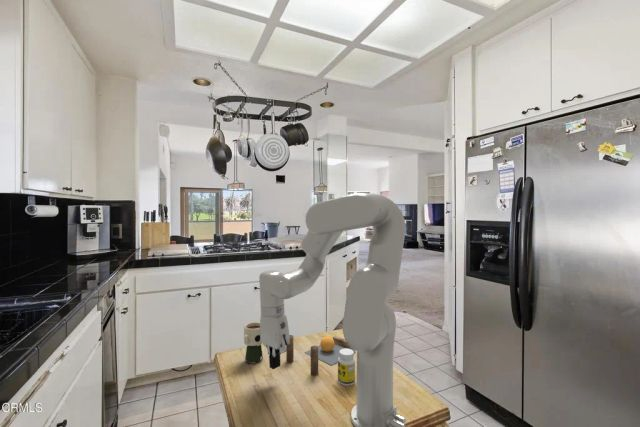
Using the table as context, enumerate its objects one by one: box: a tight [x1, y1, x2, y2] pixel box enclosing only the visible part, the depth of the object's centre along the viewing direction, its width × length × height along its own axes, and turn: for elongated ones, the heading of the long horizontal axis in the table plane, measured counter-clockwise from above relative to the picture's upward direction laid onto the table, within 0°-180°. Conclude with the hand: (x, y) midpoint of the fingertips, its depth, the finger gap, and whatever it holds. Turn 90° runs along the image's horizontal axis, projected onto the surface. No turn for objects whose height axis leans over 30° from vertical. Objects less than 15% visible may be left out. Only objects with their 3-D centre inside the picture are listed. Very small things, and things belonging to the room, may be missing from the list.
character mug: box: [243, 321, 264, 364], centre depth 116 cm, size 11×7×13 cm, turn 157°
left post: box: [285, 334, 295, 363], centre depth 116 cm, size 3×3×9 cm
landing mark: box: [304, 344, 357, 367], centre depth 122 cm, size 14×14×1 cm
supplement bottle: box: [337, 348, 356, 386], centre depth 103 cm, size 6×6×10 cm
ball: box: [319, 336, 335, 352], centre depth 124 cm, size 6×6×6 cm
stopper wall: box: [332, 335, 355, 351], centre depth 128 cm, size 10×2×2 cm, turn 46°
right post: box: [310, 345, 319, 377], centre depth 107 cm, size 3×3×9 cm
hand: (275, 366), depth 102 cm, fingers closed
